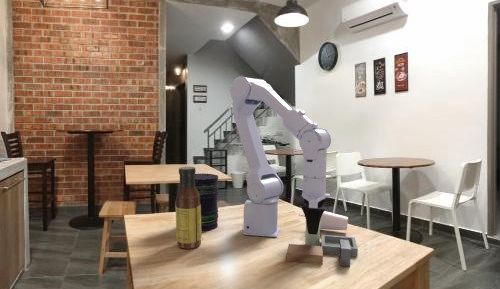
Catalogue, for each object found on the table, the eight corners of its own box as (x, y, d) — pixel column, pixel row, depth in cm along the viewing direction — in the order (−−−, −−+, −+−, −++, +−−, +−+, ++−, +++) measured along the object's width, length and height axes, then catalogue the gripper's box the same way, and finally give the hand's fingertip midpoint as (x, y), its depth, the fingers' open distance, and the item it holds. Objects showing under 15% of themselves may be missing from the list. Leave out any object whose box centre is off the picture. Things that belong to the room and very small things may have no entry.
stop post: (340, 266, 80) (341, 248, 80) (339, 255, 86) (340, 239, 86) (350, 266, 80) (350, 249, 80) (348, 256, 86) (348, 240, 86)
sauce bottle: (191, 239, 96) (192, 164, 94) (206, 245, 91) (207, 167, 90) (170, 245, 91) (170, 167, 90) (184, 252, 87) (184, 170, 85)
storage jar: (204, 233, 101) (205, 180, 100) (177, 227, 106) (177, 176, 104) (224, 224, 109) (225, 175, 108) (198, 219, 114) (198, 172, 113)
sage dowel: (304, 246, 92) (305, 221, 91) (305, 241, 96) (306, 217, 95) (319, 248, 91) (320, 222, 91) (319, 243, 95) (320, 218, 94)
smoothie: (349, 207, 104) (300, 200, 107) (347, 225, 99) (296, 218, 103) (347, 221, 108) (300, 214, 112) (345, 239, 103) (296, 231, 107)
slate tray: (321, 253, 88) (321, 245, 88) (321, 241, 96) (321, 234, 96) (357, 256, 86) (357, 248, 86) (354, 244, 95) (354, 237, 94)
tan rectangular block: (286, 263, 83) (287, 252, 82) (288, 253, 89) (288, 243, 88) (322, 266, 81) (322, 255, 81) (321, 256, 87) (322, 246, 87)
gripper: (331, 182, 84) (329, 239, 85) (330, 172, 98) (328, 222, 99) (300, 180, 85) (299, 237, 87) (303, 171, 100) (302, 220, 101)
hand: (313, 229), depth 93 cm, fingers open, 7 cm apart
